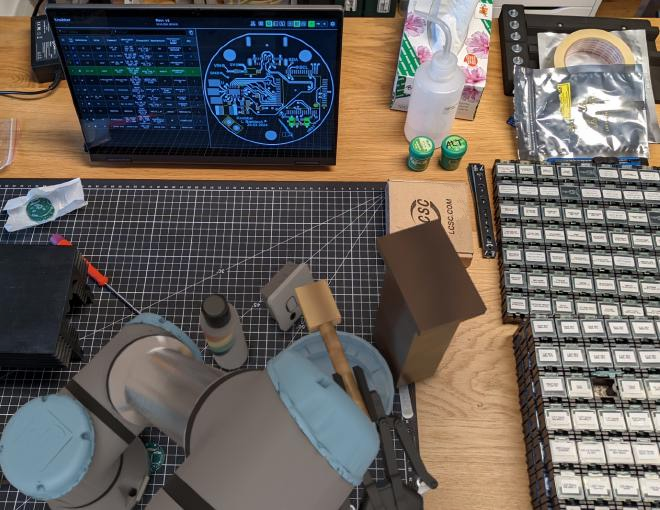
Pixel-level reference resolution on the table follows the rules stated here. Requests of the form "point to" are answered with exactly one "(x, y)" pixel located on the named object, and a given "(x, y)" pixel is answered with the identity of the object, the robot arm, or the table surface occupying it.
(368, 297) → the table surface
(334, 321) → the wooden mallet
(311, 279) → the electrical switch
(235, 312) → the lotion bottle
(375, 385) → the bowl
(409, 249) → the stand
